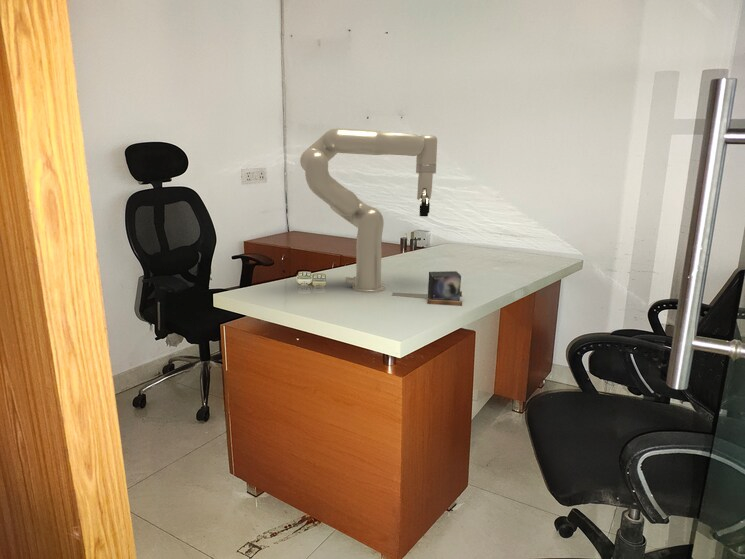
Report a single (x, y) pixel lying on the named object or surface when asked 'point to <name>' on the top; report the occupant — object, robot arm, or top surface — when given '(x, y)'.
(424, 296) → the rubber mat
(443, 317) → the top surface
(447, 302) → the brown open frame
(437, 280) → the small box
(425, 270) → the top surface
